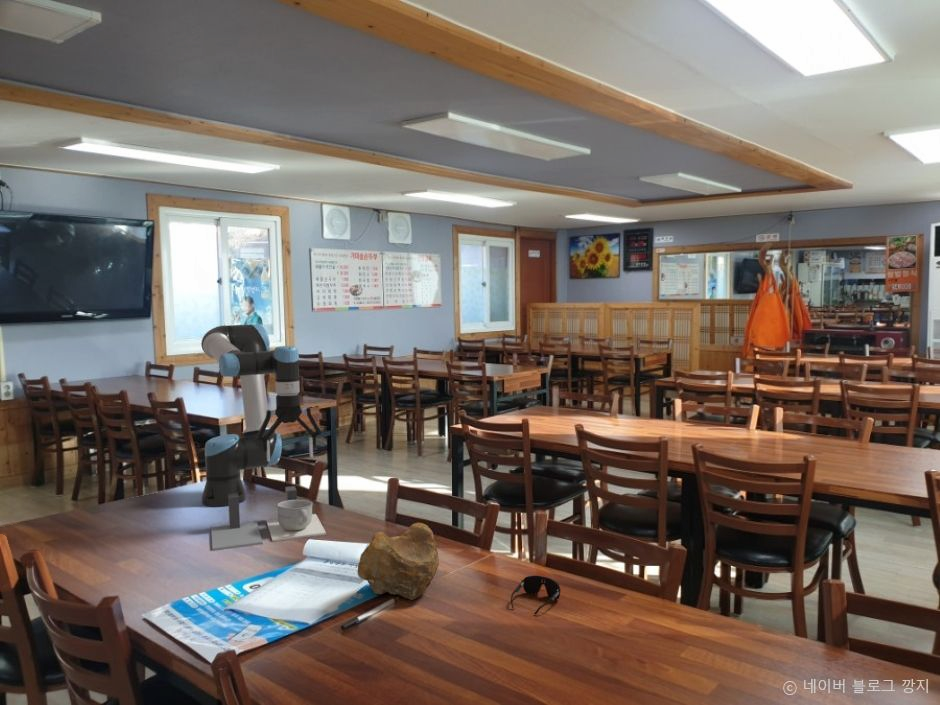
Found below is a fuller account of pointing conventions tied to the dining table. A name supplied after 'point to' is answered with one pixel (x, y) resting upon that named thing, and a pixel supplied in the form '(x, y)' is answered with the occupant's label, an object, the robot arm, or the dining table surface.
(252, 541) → the gray post stand
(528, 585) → the sunglasses
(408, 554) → the rough brown rock
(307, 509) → the teacup
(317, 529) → the grey plate with post
